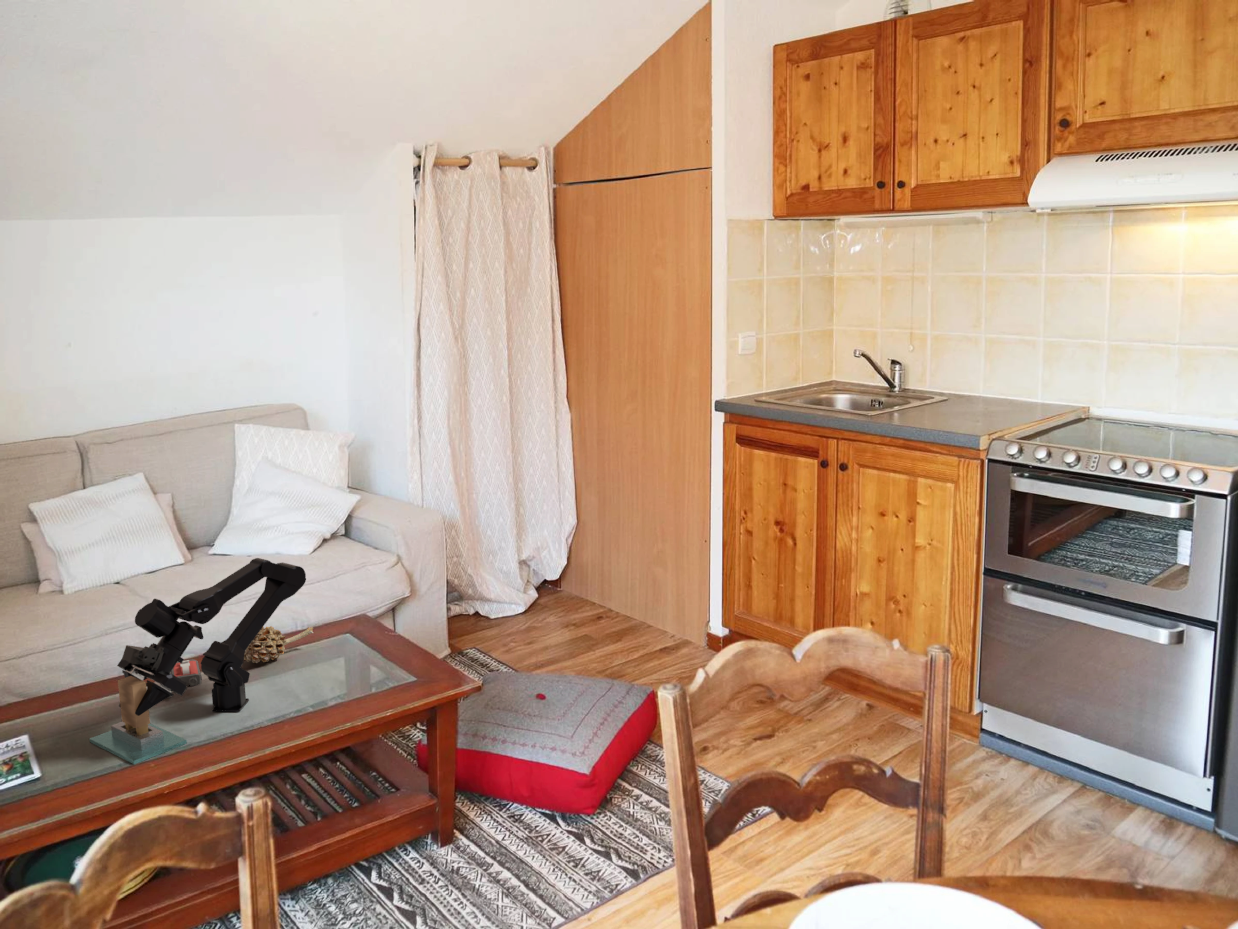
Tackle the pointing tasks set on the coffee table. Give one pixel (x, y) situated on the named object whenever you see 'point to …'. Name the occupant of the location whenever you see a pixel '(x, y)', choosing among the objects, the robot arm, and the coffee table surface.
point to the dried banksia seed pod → (270, 644)
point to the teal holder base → (137, 742)
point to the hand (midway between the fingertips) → (128, 711)
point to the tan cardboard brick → (133, 704)
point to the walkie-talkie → (188, 672)
